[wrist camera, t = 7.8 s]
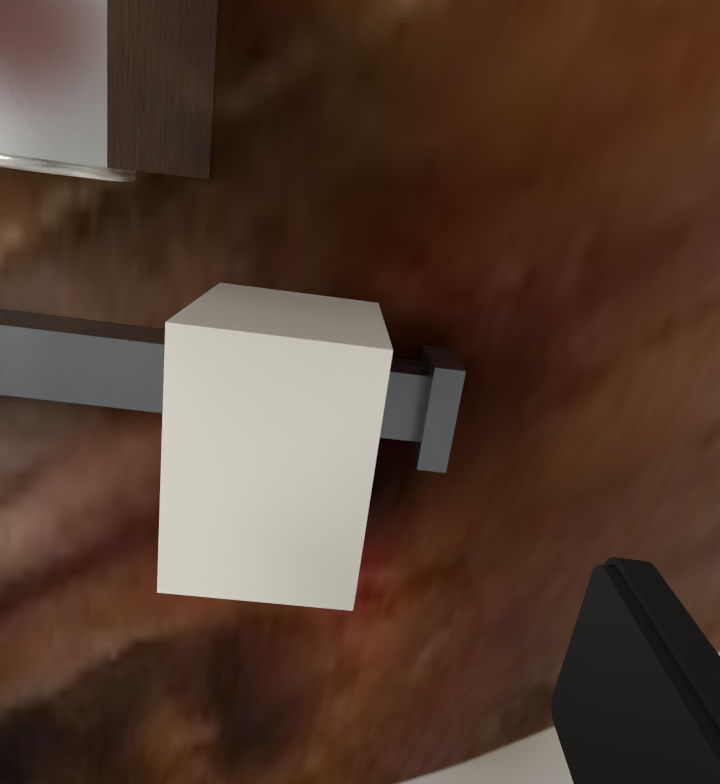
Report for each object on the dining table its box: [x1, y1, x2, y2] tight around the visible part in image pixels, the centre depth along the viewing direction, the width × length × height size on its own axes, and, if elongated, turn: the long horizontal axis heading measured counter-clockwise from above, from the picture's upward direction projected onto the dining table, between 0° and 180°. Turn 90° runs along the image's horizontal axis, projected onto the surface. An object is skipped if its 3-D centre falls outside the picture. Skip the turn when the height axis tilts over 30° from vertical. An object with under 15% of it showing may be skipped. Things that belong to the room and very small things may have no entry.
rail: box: [0, 309, 466, 473], centre depth 20 cm, size 20×4×3 cm, turn 82°
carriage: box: [157, 283, 393, 611], centre depth 18 cm, size 5×7×8 cm
